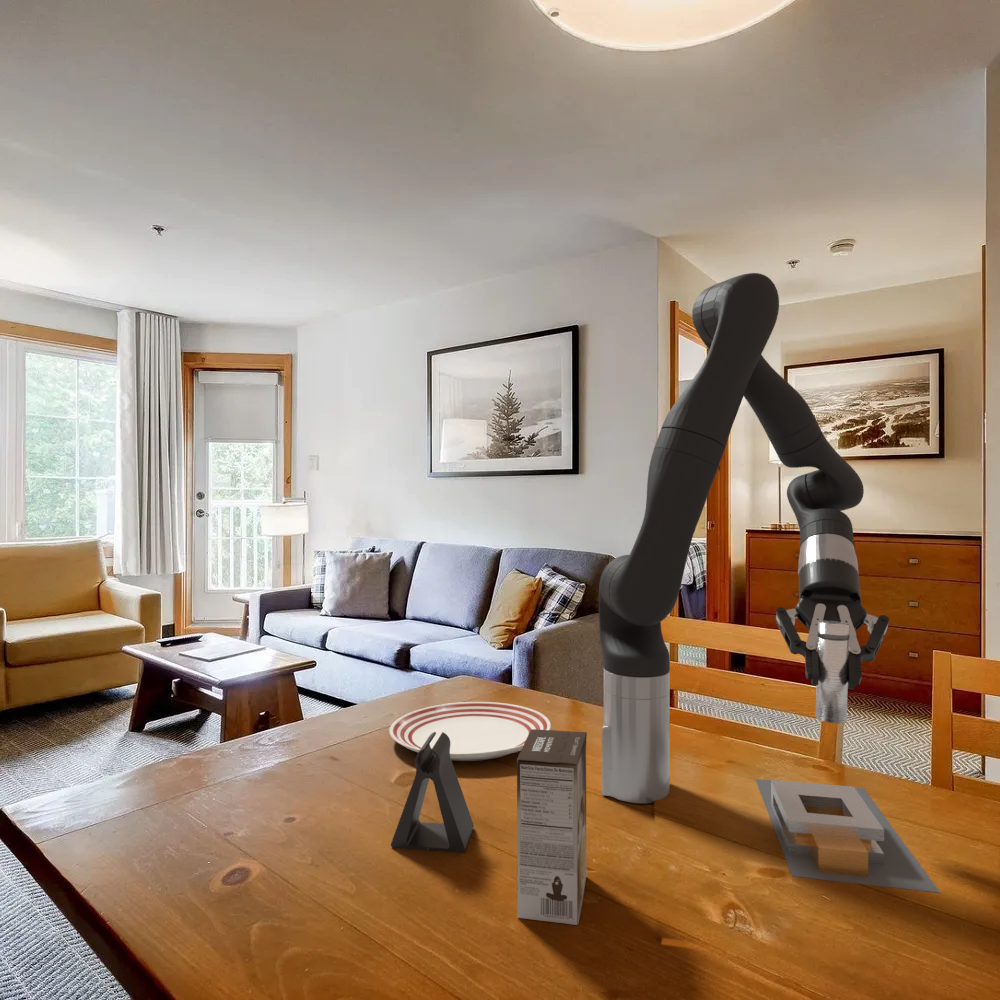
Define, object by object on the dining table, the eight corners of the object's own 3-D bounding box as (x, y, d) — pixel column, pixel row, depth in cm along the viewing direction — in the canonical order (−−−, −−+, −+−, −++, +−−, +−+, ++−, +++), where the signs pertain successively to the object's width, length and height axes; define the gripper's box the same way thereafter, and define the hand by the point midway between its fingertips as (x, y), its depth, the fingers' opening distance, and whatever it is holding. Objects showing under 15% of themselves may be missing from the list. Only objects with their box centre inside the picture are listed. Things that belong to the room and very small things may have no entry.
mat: (792, 880, 74) (792, 875, 74) (755, 782, 100) (755, 778, 100) (940, 897, 71) (940, 892, 71) (863, 791, 96) (863, 788, 96)
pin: (819, 722, 84) (822, 624, 84) (811, 713, 87) (814, 619, 87) (851, 724, 83) (853, 626, 83) (842, 715, 87) (844, 621, 87)
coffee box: (529, 869, 76) (530, 726, 76) (587, 876, 75) (587, 730, 75) (515, 919, 67) (515, 757, 67) (580, 928, 66) (580, 762, 66)
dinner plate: (354, 749, 113) (354, 729, 113) (456, 707, 135) (456, 690, 135) (489, 790, 97) (489, 767, 97) (579, 734, 120) (579, 716, 120)
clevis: (794, 869, 75) (794, 833, 75) (771, 810, 90) (771, 779, 90) (893, 879, 73) (893, 843, 73) (853, 817, 87) (853, 786, 87)
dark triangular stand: (474, 828, 86) (474, 733, 86) (464, 853, 80) (465, 751, 80) (404, 823, 87) (404, 730, 87) (390, 847, 81) (390, 747, 81)
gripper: (773, 553, 94) (772, 660, 83) (890, 559, 89) (904, 674, 78) (772, 587, 99) (770, 692, 88) (882, 595, 94) (895, 707, 83)
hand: (833, 683), depth 83 cm, fingers closed on pin, 3 cm apart
